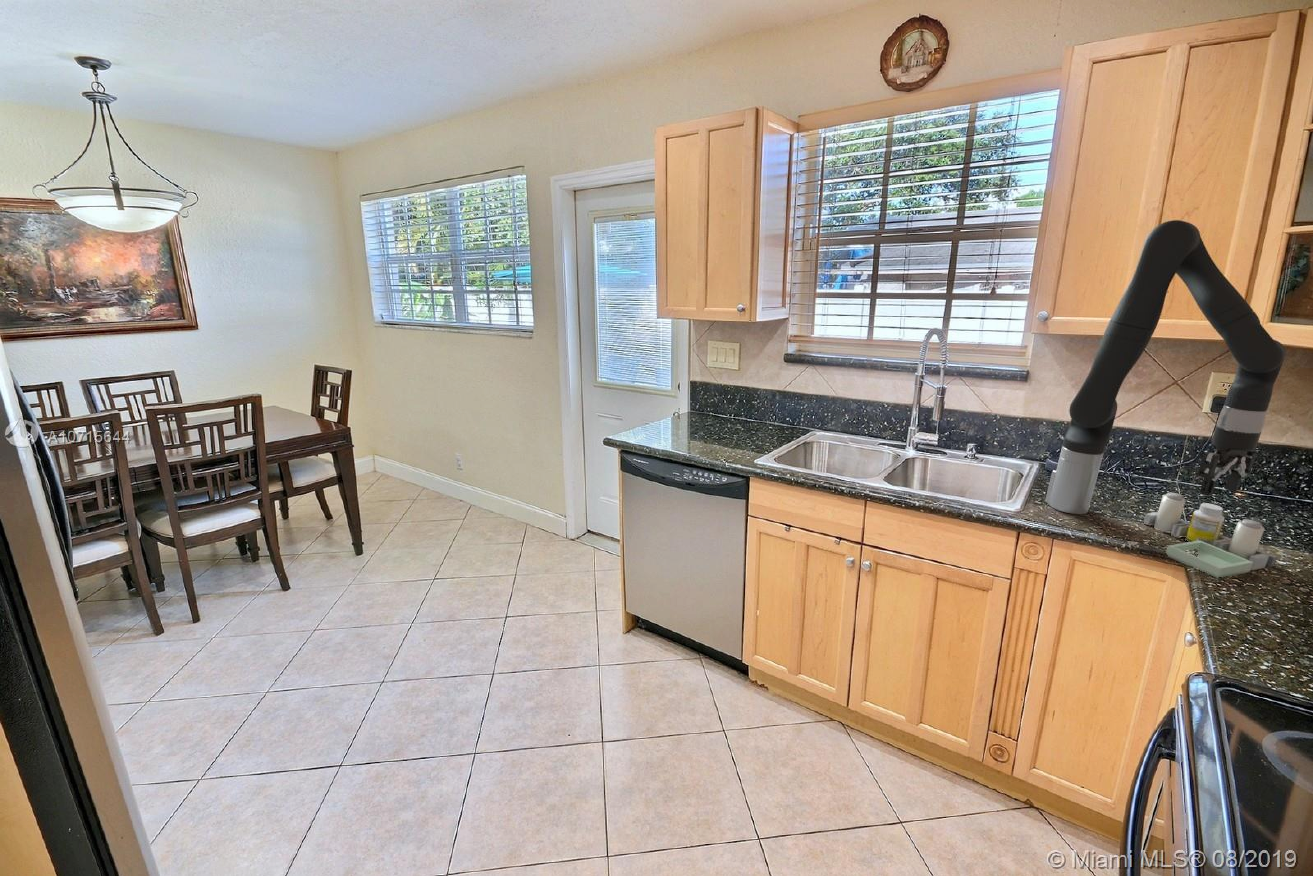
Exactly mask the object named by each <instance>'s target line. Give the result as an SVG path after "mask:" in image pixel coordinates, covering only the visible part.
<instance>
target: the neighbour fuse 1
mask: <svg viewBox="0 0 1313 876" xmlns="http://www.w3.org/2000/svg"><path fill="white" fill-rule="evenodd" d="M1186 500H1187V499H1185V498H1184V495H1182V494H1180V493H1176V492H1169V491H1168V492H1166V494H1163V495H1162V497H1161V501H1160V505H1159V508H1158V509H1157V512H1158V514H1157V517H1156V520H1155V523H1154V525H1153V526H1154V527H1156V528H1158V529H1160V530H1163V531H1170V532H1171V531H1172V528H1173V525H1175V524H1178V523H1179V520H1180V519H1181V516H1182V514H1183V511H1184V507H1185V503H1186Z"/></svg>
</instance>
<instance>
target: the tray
mask: <svg viewBox="0 0 1313 876" xmlns="http://www.w3.org/2000/svg"><path fill="white" fill-rule="evenodd" d="M1194 549H1199V551H1198V552H1196V553H1195V554H1198V556H1197V557H1196V556H1194V555H1192V554H1189V553H1187V552H1185V551H1186V550H1194ZM1165 553H1167V555H1168V556H1167V557H1168V558H1170V559H1173V560H1174V561H1177V562H1179V563H1182V564H1183V565H1186V566H1187V567H1190V566H1192V567H1195V568H1198V569H1199V570H1200V571H1199V570H1198V571H1199V572H1201V571H1202V573H1203V572H1205V573H1207V574H1206V575H1208V576H1210V575H1211V576H1210V577H1212V576H1213V578H1214V577H1216V578H1215V579H1220V578H1219V577H1222V578H1227V577H1231V576H1237V575H1242V574H1247V573H1250V571H1252V570H1251V567H1252V565H1253V562H1252V561H1249V560H1247V559H1244V558H1242V557H1239V556H1237V555H1235V554H1232V553H1230V552H1227V551H1225V550H1222V549H1220V548H1217V547H1215V546H1212V545H1210V544H1208V543H1205V542H1203V541H1200V540H1198V541H1193V542H1182V543H1176V544H1171V545H1167V548H1166V550H1165ZM1192 567H1191V568H1192ZM1205 573H1204V574H1205ZM1226 576H1227V577H1226Z"/></svg>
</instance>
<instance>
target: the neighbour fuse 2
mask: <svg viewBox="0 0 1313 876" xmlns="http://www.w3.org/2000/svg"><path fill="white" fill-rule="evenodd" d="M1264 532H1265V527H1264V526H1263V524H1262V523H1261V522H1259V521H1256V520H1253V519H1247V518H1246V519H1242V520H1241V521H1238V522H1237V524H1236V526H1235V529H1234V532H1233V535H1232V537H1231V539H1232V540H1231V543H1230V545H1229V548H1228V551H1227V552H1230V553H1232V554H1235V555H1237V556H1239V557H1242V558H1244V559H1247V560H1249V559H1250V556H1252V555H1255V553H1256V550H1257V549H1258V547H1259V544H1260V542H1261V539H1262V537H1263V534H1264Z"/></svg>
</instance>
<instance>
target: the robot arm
mask: <svg viewBox="0 0 1313 876" xmlns="http://www.w3.org/2000/svg"><path fill="white" fill-rule="evenodd" d="M1207 249H1208V248H1206V246H1205V243H1204V241H1203V238H1202V237H1201V232H1200V230H1199V229H1198V228H1197V226H1196V225H1194V224H1192V223H1191V222H1188V221H1185V220H1179V219H1172V220H1168V221H1165V222H1161V223H1159V225H1157V226H1155V227H1154V228H1153V229H1151V231H1150V232H1149V233H1148V234H1147V236H1146V238H1145V240H1144V244H1143V246H1142V249H1141V253H1140V255H1139V258H1138V261H1137V265H1136V267H1135V270H1134V273H1133V275H1132V278H1131V280H1130V282H1129V284H1128V285H1127V287H1126V288H1125V289H1126V290H1125V291H1124V293H1123V295H1122V297H1121V298H1120V300H1119V302H1118V303H1117V306H1116V308H1115V310H1114V312H1113V313H1112V316H1111V318H1110V320H1109V322H1108V324H1107V326H1106V328H1105V331H1104V332H1103V336H1102V338H1101V341H1100V342H1099V345H1098V348H1097V351H1096V354H1095V357H1094V359H1093V362H1092V364H1091V368H1090V370H1089V372H1088V375H1086V376H1087V377H1086V378H1085V380H1084V382H1083V384H1082V385H1081V387H1080V388H1079V390H1078V392H1077V393H1076V394H1075V397H1074V398H1073V400H1072V401H1071V402H1070V405H1069V411H1068V412H1069V415H1070V422H1069V426H1068V428H1067V431H1066V434H1065V435H1064V438H1063V441H1062V445H1061V451H1060V453H1059V458H1058V461H1057V462H1058V463H1057V466H1056V469H1054V470H1052V471H1051V475H1050V480H1049V482H1048V483H1049V484H1048V487H1047V493H1046V496H1045V500H1044V502H1045V503H1046V504H1048V506H1050V507H1051V508H1052V509H1055V510H1058V511H1060V512H1063V513H1068V514H1072V515H1085V514H1088V512H1089V509H1090V506H1091V505H1090V504H1091V502H1092V498H1093V493H1094V491H1095V486H1096V482H1097V479H1098V476H1099V471H1100V468H1101V465H1102V460H1103V457H1104V453H1105V449H1106V447H1107V444H1108V442H1109V439H1110V438H1111V437H1110V436H1111V433H1112V429H1113V427H1114V424H1115V423H1114V422H1115V420H1116V415H1117V412H1118V403H1117V397H1118V394H1119V392H1120V389H1121V387H1122V384H1123V382H1124V380H1125V379H1126V377H1127V376H1128V374H1129V373H1130V372H1131V370H1132V369H1133V368H1134V366H1135V365H1136V363H1137V362H1138V360H1139V359H1140V358H1141V356H1142V355H1143V353H1144V351H1145V350H1146V348H1147V346H1148V344H1149V343H1150V340H1151V339H1152V337H1153V334H1154V332H1155V330H1156V329H1157V326H1158V324H1159V322H1160V319H1161V315H1162V312H1163V309H1164V304H1165V301H1166V297H1167V293H1168V289H1169V288H1170V285H1171V283H1172V281H1173V279H1174V277H1175V276H1176V275H1177V276H1178V277H1179V278H1180V279H1181V280H1182V282H1183V283H1184V284H1185V286H1186V287H1187V289H1188V290H1189V292H1190V294H1191V295H1192V298H1193V300H1194V302H1195V303H1196V304H1197V306H1198V308H1199V309H1200V311H1201V313H1202V314H1203V315H1204V317H1205V319H1206V320H1207V321H1208V323H1210V325H1211V327H1212V328H1213V329H1214V330H1215V332H1217V334H1218V335H1219V336H1220V337H1221V338H1222V339H1223V341H1224V342H1225V344H1226V346H1227V348H1228V349H1229V351H1230V353H1231V354H1232V356H1233V358H1234V359H1235V361H1236V362H1237V363H1238V366H1237V370H1236V373H1235V376H1234V380H1233V382H1232V383H1231V385H1230V387H1229V389H1228V392H1227V394H1226V399H1225V401H1224V404H1223V407H1222V409H1221V411H1220V413H1219V415H1218V419H1217V423H1216V425H1215V427H1214V428H1215V429H1214V431H1213V436H1212V437H1211V443H1212V445H1215V446H1216V449H1215V451H1214V452H1209V451H1205V452H1204V453H1203V457H1202V459H1201V462H1200V465H1199V467H1198V471H1197V473H1196V475H1197V477H1201V478H1202V479H1203V480H1202V483H1201V486H1200V488H1199V489H1200V490H1199V493H1200V494H1201V495H1204V496H1209V497H1210V496H1213V493H1214V490H1215V487H1216V484H1217V480H1218V479H1219V478H1220V477H1221V475H1225V474H1226V473H1227V471H1228V472H1229V474H1228V476H1227V478H1226V481H1225V485H1224V490H1226V491H1229V492H1233V493H1235V492H1237V491H1238V489H1239V487H1240V484H1241V481H1242V478H1244V477H1245V475H1246V474H1247V475H1250V474H1251V473H1252V470H1253V467H1254V462H1255V460H1256V456H1257V452H1258V450H1256V448H1257V447H1258V443H1259V440H1260V437H1261V434H1262V431H1263V429H1264V425H1265V423H1266V417H1267V411H1268V408H1269V405H1270V403H1271V402H1270V401H1271V399H1272V395H1273V391H1274V390H1273V389H1274V384H1275V383H1276V380H1277V378H1278V376H1279V374H1280V372H1281V369H1282V366H1283V363H1284V360H1285V357H1286V354H1287V352H1286V351H1287V350H1286V348H1285V346H1284V345H1283V344H1282V343H1281V342H1280V341H1279V340H1276V339H1274V338H1273V337H1272V336H1271V335H1270V334H1269V333H1268V331H1267V330H1266V329H1265V328H1264V326H1263V325H1262V324H1261V321H1260V318H1259V316H1258V314H1257V313H1256V311H1254V309H1253V307H1251V306H1250V304H1249V303H1248V302H1247V301H1246V299H1245V298H1244V297H1243V296H1242V294H1241V293H1240V292H1239V291H1238V290H1237V289H1236V288H1235V286H1233V284H1232V283H1231V282H1230V281H1229V280H1228V279H1227V277H1226V276H1225V275H1224V274H1223V273H1222V271H1221V270H1220V269H1219V268H1218V266H1217V264H1216V263H1215V262H1214V260H1213V259H1212V257H1211V255H1210V253H1209V252H1208V250H1207Z"/></svg>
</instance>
